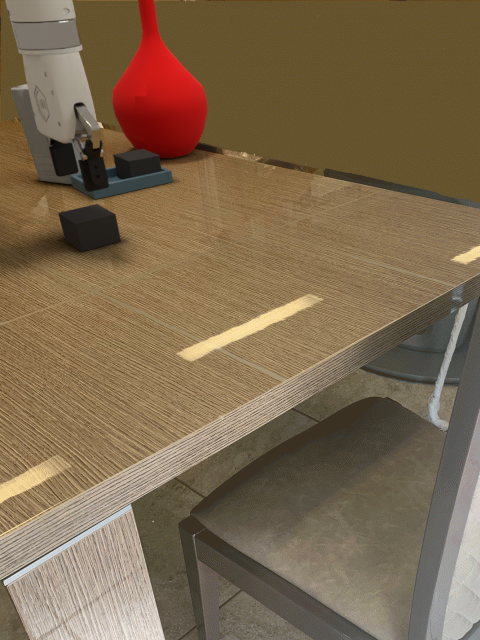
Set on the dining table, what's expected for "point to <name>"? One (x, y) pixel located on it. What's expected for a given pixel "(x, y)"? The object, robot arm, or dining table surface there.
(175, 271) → the dining table surface
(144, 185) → the tray
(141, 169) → the seated pad
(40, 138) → the cosmetic box
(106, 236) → the loose pad
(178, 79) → the vase
